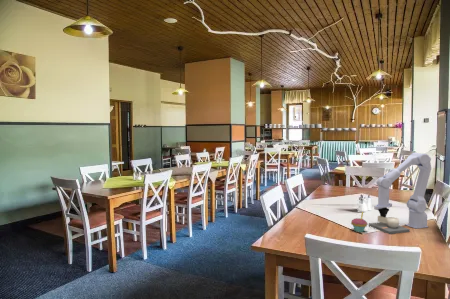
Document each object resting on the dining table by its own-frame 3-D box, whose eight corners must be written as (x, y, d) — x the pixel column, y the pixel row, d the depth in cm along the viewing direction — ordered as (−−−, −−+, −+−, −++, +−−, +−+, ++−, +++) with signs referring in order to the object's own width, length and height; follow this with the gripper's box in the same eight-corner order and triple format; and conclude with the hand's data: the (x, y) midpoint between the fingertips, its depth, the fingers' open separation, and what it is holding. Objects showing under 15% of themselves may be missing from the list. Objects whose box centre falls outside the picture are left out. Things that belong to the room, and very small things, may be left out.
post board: (387, 223, 194) (387, 219, 194) (409, 231, 179) (409, 227, 178) (368, 225, 190) (368, 221, 190) (389, 234, 175) (389, 229, 174)
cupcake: (369, 230, 181) (370, 210, 180) (363, 234, 175) (364, 213, 174) (354, 227, 187) (355, 207, 186) (348, 230, 181) (348, 210, 180)
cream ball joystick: (400, 225, 182) (400, 218, 182) (395, 227, 178) (395, 220, 178) (380, 220, 191) (380, 214, 191) (375, 222, 187) (375, 216, 187)
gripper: (382, 200, 180) (381, 223, 181) (397, 197, 188) (396, 219, 189) (371, 198, 186) (370, 220, 187) (386, 195, 194) (385, 217, 195)
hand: (382, 220), depth 188 cm, fingers closed, pressing on cream ball joystick
